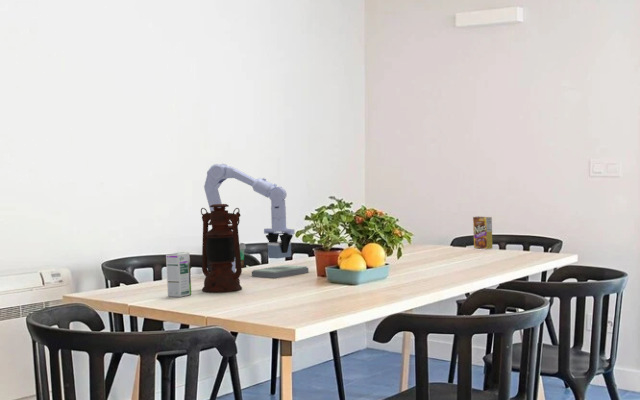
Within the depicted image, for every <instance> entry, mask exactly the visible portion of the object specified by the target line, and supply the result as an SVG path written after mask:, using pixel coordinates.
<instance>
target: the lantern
mask: <svg viewBox="0 0 640 400" xmlns="http://www.w3.org/2000/svg"><path fill="white" fill-rule="evenodd" d="M210 207H214V208H213V209H214V211H211V212H208V210H207V209H206V208H205V207H202V208H201V209H200V215H201V220H202V247H201V248H202V251H201V252H202V253H201V271H202V273H203V276H205V278H204V281H203V287H202V289H201V290H202V292H204V293H210V294H211V293H213V294H219V293H220V294H221V293H222V294H223V293H234V292H238V291H242V290H243V287H242V286H241V281H240V277H241V275H242V272H243V268H242V267H241V256H240V237H239V236H240V235H239V224H240V221H241V220H240V217H241V214H240V208H239V207H236V208H234V210H233V212H229V210H226V208H227V207H229V204H227V203H222V204H213V205H211V206H210ZM218 207H221V208H218ZM202 210H205V213H203V211H202ZM236 210H237V212H236V213H235V211H236ZM209 226H211V229H209ZM234 261H235V262H236V269H235V273H234V272H233V270H232V266H233V265H232V262H234ZM208 264H210V265H209V267H210V271H209V270H208Z"/></svg>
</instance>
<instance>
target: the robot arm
mask: <svg viewBox="0 0 640 400" xmlns="http://www.w3.org/2000/svg"><path fill="white" fill-rule="evenodd" d="M227 179H235V180H237V181H240V182H242V183H244V184H246V185H248V186H250V187H252V190H253V191H254V192H255V193H258V194H259V195H261V196H263V197H264V198H269V200H270V204H271V206H270V212H271V213H270V214H271V219H270V220H271V221H270V222H271V228H267V227H266V228H264V229H263V234H265V238H266V239H267V242H268V243H269V242H277V241H279V240H280V241H281V243H282V252H283V253H287V251H288V247H289V243H290V241H291V242H292V239H293V235H296V234H295V229H291V228H288V227H287V216H286V215H287V211H286V210H287V209H286V208H287V207H286V198H287V191H286V189H285V188H284V187H282V186H277V184H276V183H271V182H269V181H268V180H267V178H265V177H262V178H261V177H258V178H254V177H252V176H251V175H248V174H247V173H245V172H243V171H241V170H240V169H238V168H236V167H234V166H231V165H227V164H225V163H220V164H219V163H215V164H213V165H211V166H210V168H208V170H207V172H206V177H205V182H204V185H203V188H204V193H205V196H206V200H207V203H208V208H209V211H210V212H209V213H211V211H214V209H213V208H214V207H210V206H211V205H213V204H223V203H222V199H221V197H220V191H219V189H220V187H221V185H222V184H223V182H225V181H226V180H227ZM218 208H221V207H218ZM232 265H233V266H232V270H233V272H234V273H235V272H236V269H235V261H234V262H232Z"/></svg>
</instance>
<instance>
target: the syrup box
mask: <svg viewBox="0 0 640 400" xmlns="http://www.w3.org/2000/svg"><path fill="white" fill-rule="evenodd" d="M190 258H191V257H190V252H187V251H186V252H185V251H180V252H179V251H178V252H172V253H167V254H165V262H166V279H167V280H166V281H167V282H166V283H167V296H168V297H172V298H173V297H174V298H182V297H186V296H191V295H192V283H191V282H192V281H191V259H190Z"/></svg>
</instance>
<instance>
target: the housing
mask: <svg viewBox="0 0 640 400" xmlns="http://www.w3.org/2000/svg"><path fill="white" fill-rule="evenodd" d="M290 257H292V240H291V241H290V243H289V247H288V251H287V253H283V252H282V243H281V240H278V241H277V242H269V241H268V242H267V258H268V259H285V258H290Z"/></svg>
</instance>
